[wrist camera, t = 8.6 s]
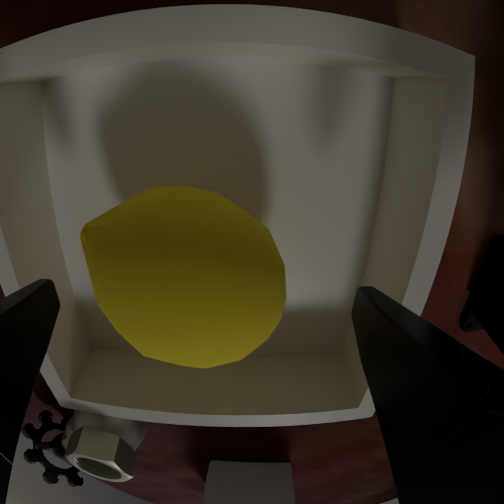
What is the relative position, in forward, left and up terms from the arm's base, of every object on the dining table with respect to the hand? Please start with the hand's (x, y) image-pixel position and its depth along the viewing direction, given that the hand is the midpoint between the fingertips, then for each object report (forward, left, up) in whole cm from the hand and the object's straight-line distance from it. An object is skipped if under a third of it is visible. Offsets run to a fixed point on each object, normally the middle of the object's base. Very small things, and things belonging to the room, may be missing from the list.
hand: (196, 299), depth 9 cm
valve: (+9, +13, -5) cm, 17 cm away
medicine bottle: (-2, +25, -5) cm, 26 cm away
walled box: (0, 0, -5) cm, 5 cm away
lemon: (0, 0, -4) cm, 4 cm away
